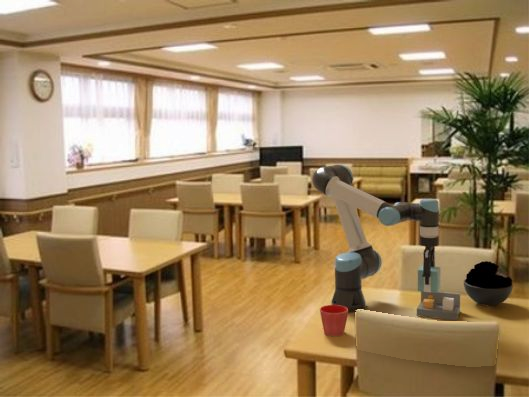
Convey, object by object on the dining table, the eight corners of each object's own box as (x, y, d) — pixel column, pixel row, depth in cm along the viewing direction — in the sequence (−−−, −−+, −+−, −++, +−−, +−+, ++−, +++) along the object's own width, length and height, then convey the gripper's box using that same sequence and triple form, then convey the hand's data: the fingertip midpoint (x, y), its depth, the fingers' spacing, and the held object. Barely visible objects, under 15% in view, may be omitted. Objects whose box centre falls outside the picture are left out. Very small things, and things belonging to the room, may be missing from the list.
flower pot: (329, 325, 220) (329, 302, 219) (353, 331, 213) (353, 307, 212) (314, 333, 212) (314, 309, 211) (339, 340, 205) (338, 315, 204)
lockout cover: (417, 291, 228) (417, 270, 227) (421, 285, 236) (421, 265, 234) (437, 292, 225) (437, 271, 224) (440, 287, 232) (440, 267, 231)
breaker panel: (416, 315, 229) (416, 297, 228) (421, 307, 239) (421, 289, 238) (456, 320, 222) (457, 301, 221) (459, 311, 232) (460, 293, 231)
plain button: (442, 311, 227) (442, 300, 226) (443, 308, 231) (444, 297, 230) (452, 312, 225) (452, 301, 225) (453, 309, 229) (453, 298, 228)
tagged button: (422, 312, 231) (422, 301, 230) (424, 309, 234) (424, 298, 234) (432, 313, 229) (432, 302, 228) (434, 310, 233) (434, 299, 232)
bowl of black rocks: (503, 297, 249) (504, 257, 246) (519, 312, 229) (520, 269, 227) (458, 297, 251) (458, 257, 248) (470, 312, 231) (471, 269, 229)
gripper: (434, 241, 217) (434, 296, 219) (442, 232, 235) (441, 283, 238) (415, 240, 220) (415, 294, 223) (424, 231, 238) (424, 281, 241)
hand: (429, 288), depth 230 cm, fingers closed on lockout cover, 8 cm apart
